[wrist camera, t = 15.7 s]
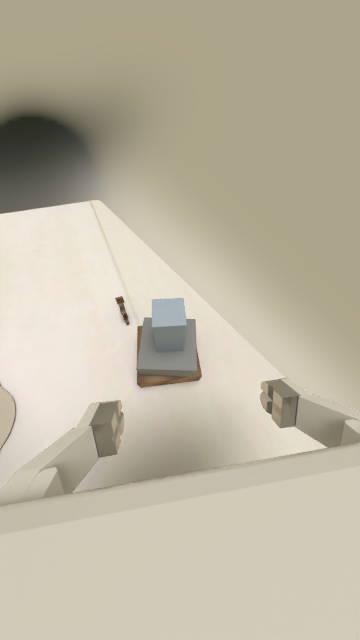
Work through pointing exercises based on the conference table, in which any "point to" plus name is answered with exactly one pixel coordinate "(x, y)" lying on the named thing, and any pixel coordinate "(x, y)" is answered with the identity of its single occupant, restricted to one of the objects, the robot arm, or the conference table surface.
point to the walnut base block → (162, 380)
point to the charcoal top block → (167, 354)
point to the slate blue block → (169, 324)
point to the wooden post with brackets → (122, 308)
